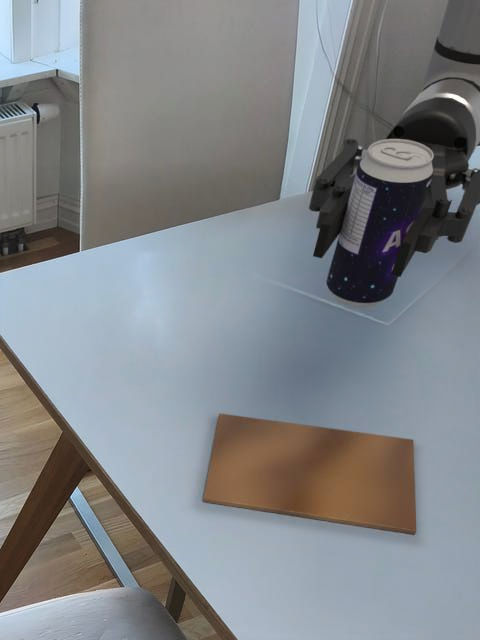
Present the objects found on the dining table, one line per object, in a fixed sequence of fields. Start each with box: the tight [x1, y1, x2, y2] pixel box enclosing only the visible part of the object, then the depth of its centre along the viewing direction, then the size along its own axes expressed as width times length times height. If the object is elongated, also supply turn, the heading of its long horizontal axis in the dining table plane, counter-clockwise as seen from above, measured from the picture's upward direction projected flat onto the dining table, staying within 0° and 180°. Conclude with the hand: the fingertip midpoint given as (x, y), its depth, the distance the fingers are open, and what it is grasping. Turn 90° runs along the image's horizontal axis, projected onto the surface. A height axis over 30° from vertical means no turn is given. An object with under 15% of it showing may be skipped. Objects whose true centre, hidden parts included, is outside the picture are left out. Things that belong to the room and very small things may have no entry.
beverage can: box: [325, 138, 434, 309], centre depth 73 cm, size 6×6×12 cm
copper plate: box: [202, 413, 417, 535], centre depth 89 cm, size 20×14×1 cm
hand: (360, 250), depth 70 cm, fingers closed on beverage can, 6 cm apart
